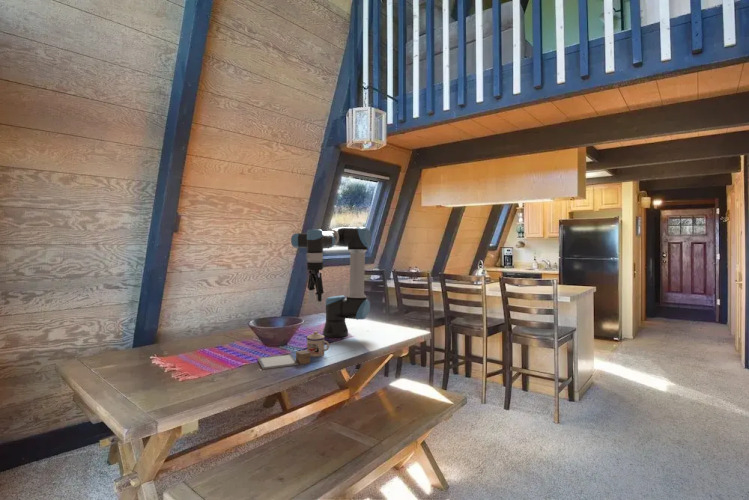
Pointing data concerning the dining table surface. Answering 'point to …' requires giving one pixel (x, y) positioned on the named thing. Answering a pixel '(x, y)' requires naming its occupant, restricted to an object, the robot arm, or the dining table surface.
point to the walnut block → (303, 357)
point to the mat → (277, 361)
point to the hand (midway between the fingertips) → (315, 305)
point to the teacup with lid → (316, 344)
